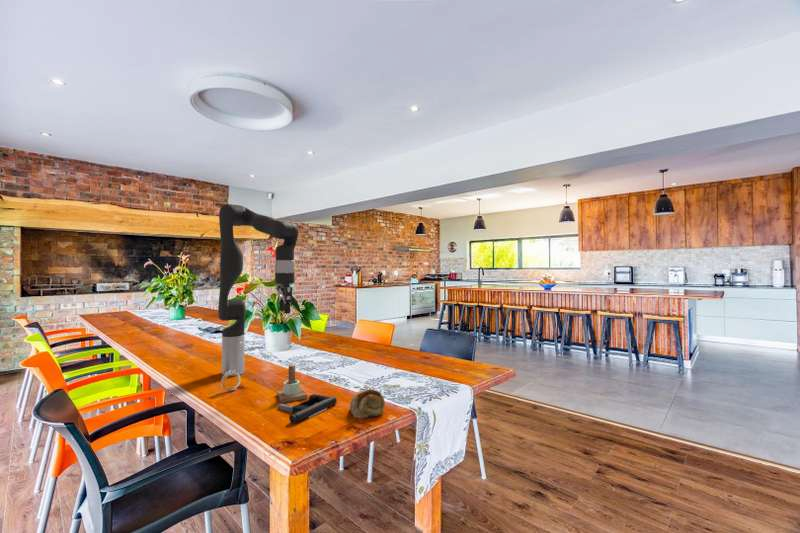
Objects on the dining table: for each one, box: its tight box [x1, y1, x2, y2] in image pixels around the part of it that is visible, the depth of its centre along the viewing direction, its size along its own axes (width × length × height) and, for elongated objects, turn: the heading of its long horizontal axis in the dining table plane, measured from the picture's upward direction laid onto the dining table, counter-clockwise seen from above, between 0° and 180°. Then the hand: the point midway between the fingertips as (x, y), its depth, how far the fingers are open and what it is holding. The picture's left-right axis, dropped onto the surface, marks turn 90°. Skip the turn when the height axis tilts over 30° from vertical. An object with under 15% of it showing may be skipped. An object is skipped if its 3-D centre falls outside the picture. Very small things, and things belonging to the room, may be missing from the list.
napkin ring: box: [283, 379, 301, 396], centre depth 136 cm, size 6×6×4 cm
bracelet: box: [221, 370, 242, 392], centre depth 142 cm, size 7×3×8 cm, turn 132°
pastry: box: [349, 388, 386, 419], centre depth 124 cm, size 14×12×8 cm
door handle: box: [277, 393, 338, 424], centre depth 125 cm, size 3×20×16 cm
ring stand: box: [276, 364, 308, 404], centre depth 136 cm, size 9×9×12 cm
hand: (284, 312), depth 146 cm, fingers open, 8 cm apart
